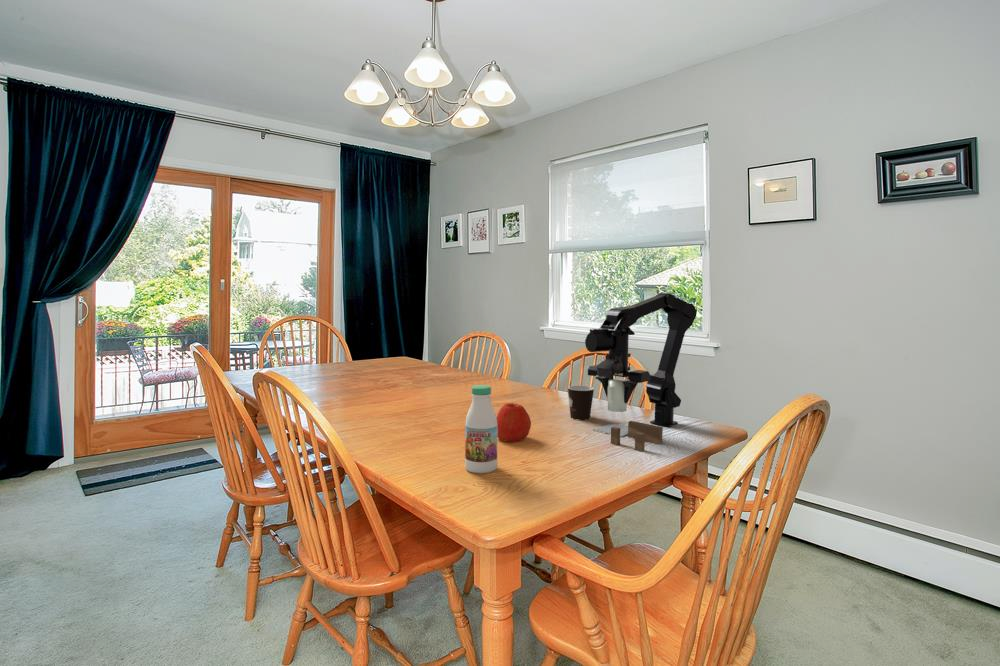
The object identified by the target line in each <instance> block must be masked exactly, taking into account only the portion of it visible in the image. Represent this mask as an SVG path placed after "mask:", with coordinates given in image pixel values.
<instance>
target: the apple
mask: <svg viewBox="0 0 1000 666" xmlns="http://www.w3.org/2000/svg"><path fill="white" fill-rule="evenodd" d="M496 418H497V439H499V440H501V441H504V442H507V441H508V442H507V443H510V442H511V443H517V442H521V441H523V440H525V439H526V438H527V437H528V436H529V433H530V430H531V427H532V422H531V417H530V415H529V413H528V412H527V410H526V409H525V407H524V406H523V405H521V404H519V403H513V402H512V403H509V402H506V403H504V404H503V405H502V406H501V408H500V409H499V411H498V412H497V414H496Z"/></svg>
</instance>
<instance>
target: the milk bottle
mask: <svg viewBox="0 0 1000 666" xmlns="http://www.w3.org/2000/svg"><path fill="white" fill-rule="evenodd" d="M491 393H492V387H491V386H490V385H487V384H485V385H484V384H477V385H473V386H472V387H471V397H472V401H471V404H470V407H469V409H468V412H467V414H466V418H465V429H464V430H465V432H464V437H465V438H464V439H465V440H464V459H465V460H464V465H465V470H467V471H468V472H470V473H473V474H489V473H492V472H495V471H496V470H497V469H498V437H497V414H496V412H495V409H494V408H493V405H492V402H491V401H492V400H491V396H492V394H491Z"/></svg>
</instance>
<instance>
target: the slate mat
mask: <svg viewBox="0 0 1000 666" xmlns="http://www.w3.org/2000/svg"><path fill="white" fill-rule="evenodd" d="M612 427H618V428H620V438H624V437H626V436H628V426H625V425H624V426H623V425H620V424H615V423H610V424H609V423H608V424H605V425H603V426H599V427H595V428H593V430H592V431H594V430H597V431H596V432H598V431H601V432H600V433H602V432H605V433H604V434H606V433H609V434H608V435H610V434H611V428H612ZM625 435H626V436H625ZM623 436H624V437H623Z"/></svg>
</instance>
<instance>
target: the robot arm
mask: <svg viewBox="0 0 1000 666" xmlns="http://www.w3.org/2000/svg"><path fill="white" fill-rule="evenodd" d="M660 310H662V311H663V312H664V313H665V314H667V317H666V320H667V324H668V332H667V335H666V340H665V343H664V346H663V351H662V353H661V356H660V360H659V365H658V368H657V370H656V372H655V373H654V374H650V371H648V370H641V369H636V370H631V367H630V366H629V358H631V355H632V354H631V353H629V337H630V336H634V335H635V334H636V333H635V331H633V330H632V329H631V326H633V325H634V324H636V323H637V321H638V320H639V319H640V318H642V317H645V316H647V315H650V314H652V313H654V312H658V311H660ZM697 312H698V310H697V309H696V306H695V304H693V303H691V302H690V303H689V302H688V301H685V300H683V299H682V298H679V297H676V296H675V295H674V294H672V293H670V292H667V293H665V292H659V293H658V294H656V295H654V296H652V297H648V298H647V299H644V300H642V301H639V302H637V303H634V304H632V305H629V306H617V307H612V308H610V309H609V310H607V313H606V316H605V317H604V319H603V320H602V323H601V324H600V326H599V327H598V328H590V329H589V333H588V334H587V335H586V337H585V340H584V344H585V348H586V350H587V351H588V352H590V353H598V352H608V353H606V355H605V360H603V361H602V360H601V362H599V364H594V365H590V366H588V367H587V368H588V369H587V376H592V377H594V378H595V379H596V380H598V381H599V382H600V383H601V385H602V387H603V389H604V393H605V397H606V398H607V394H608V380H609V379H614V377H619V378H626V380H627V381H623V384H624V386H625V390H624V403H627V404H628V403H629V401H630V398H631V396H632V394H633V392H634V391H635V389H636V387H637V385H638V384H640V383H641V384H642V383H645V382H646V384H645V387H646V389H645V393H646V395H647V396H648V400H649V402H650V403H652V404H654V417H653V418H654V419H653V420H651V421H649V423H650V424H651V425H656V426H661V427H668V428H669V427H672V426H675V425H677V424H679V423H678V421H676V420H674V417H675V416H674V415H675V413H674V412H675V411H674V410H675V408H678V407H680V406H681V402H682V399H681V398H680V396H678V395H677V393H676V392H675V391H676V381H675V378H674V377H675V376H674V374H675V370H676V367H677V364H678V363H677V362H678V360H679V356H680V352H681V348H682V345H683V342H684V338H685V334H686V332H687V331H688V330H689V329H690V328H691V326H692V325H693V324H694V322H695V319H696V316H697Z"/></svg>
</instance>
